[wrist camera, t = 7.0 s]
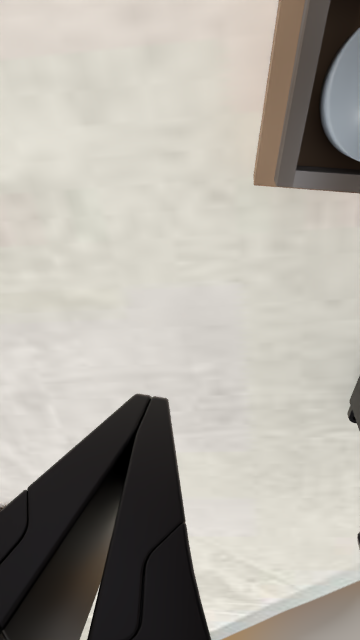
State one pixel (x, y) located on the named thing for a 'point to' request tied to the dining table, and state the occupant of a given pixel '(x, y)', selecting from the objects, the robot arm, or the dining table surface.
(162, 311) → the dining table surface
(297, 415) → the dining table surface
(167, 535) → the robot arm
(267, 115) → the button panel
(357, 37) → the slate-blue button
